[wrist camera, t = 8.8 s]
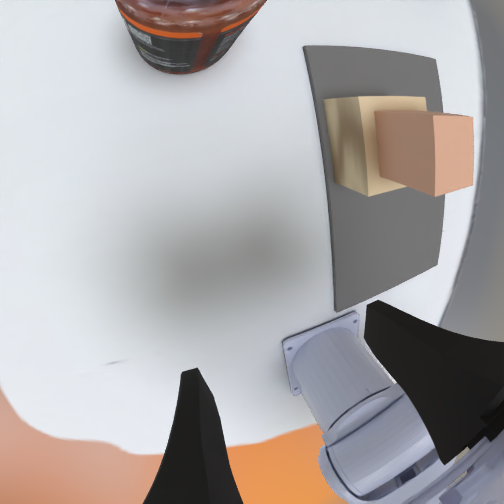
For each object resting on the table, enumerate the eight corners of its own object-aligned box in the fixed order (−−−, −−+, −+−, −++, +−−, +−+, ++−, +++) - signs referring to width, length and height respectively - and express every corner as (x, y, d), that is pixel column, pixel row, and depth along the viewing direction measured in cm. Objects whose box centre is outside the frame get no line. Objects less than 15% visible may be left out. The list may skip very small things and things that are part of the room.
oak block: (394, 169, 20) (430, 180, 17) (334, 182, 19) (368, 196, 16) (387, 96, 17) (425, 97, 14) (323, 99, 16) (358, 96, 13)
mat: (435, 263, 27) (437, 264, 27) (334, 310, 25) (336, 312, 25) (432, 59, 17) (435, 59, 17) (302, 46, 15) (305, 45, 14)
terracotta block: (421, 167, 16) (472, 185, 12) (379, 176, 15) (434, 196, 11) (417, 110, 14) (472, 116, 10) (373, 111, 13) (433, 115, 10)
